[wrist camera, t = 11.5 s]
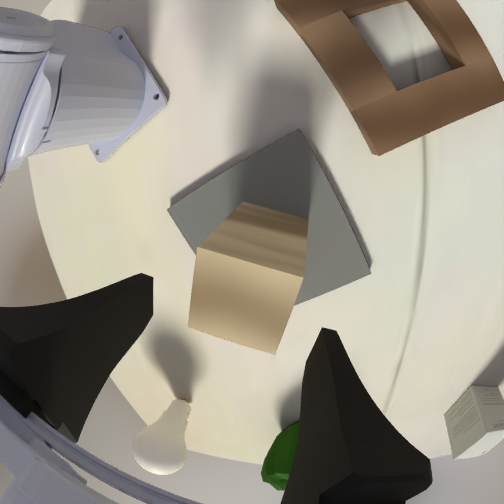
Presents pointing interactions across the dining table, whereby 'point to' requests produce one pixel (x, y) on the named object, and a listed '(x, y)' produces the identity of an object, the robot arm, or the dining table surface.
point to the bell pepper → (280, 458)
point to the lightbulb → (164, 441)
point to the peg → (249, 276)
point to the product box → (475, 421)
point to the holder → (377, 81)
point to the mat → (282, 210)
